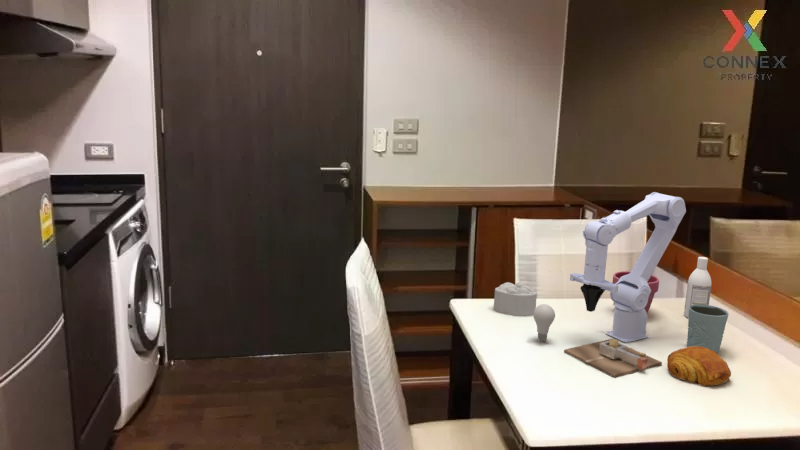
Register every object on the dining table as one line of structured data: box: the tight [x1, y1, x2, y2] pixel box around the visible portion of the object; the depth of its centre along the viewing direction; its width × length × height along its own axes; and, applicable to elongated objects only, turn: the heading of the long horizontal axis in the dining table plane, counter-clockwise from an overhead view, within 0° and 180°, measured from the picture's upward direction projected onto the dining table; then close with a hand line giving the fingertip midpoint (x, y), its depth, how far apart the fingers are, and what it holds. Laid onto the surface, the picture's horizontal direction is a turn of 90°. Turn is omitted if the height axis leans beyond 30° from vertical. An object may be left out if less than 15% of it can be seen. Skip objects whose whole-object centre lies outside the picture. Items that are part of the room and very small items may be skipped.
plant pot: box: [611, 270, 660, 315], centre depth 217 cm, size 14×14×13 cm
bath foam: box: [683, 256, 713, 319], centre depth 215 cm, size 7×7×20 cm
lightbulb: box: [532, 303, 556, 342], centre depth 191 cm, size 6×6×11 cm
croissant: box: [666, 346, 732, 387], centre depth 173 cm, size 14×16×8 cm
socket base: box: [563, 338, 663, 379], centre depth 181 cm, size 18×18×5 cm
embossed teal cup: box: [686, 304, 729, 355], centre depth 189 cm, size 10×10×12 cm
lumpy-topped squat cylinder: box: [493, 281, 538, 317], centre depth 217 cm, size 10×13×9 cm
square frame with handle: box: [599, 341, 647, 369], centre depth 178 cm, size 13×5×3 cm, turn 34°
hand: (590, 310), depth 190 cm, fingers closed
